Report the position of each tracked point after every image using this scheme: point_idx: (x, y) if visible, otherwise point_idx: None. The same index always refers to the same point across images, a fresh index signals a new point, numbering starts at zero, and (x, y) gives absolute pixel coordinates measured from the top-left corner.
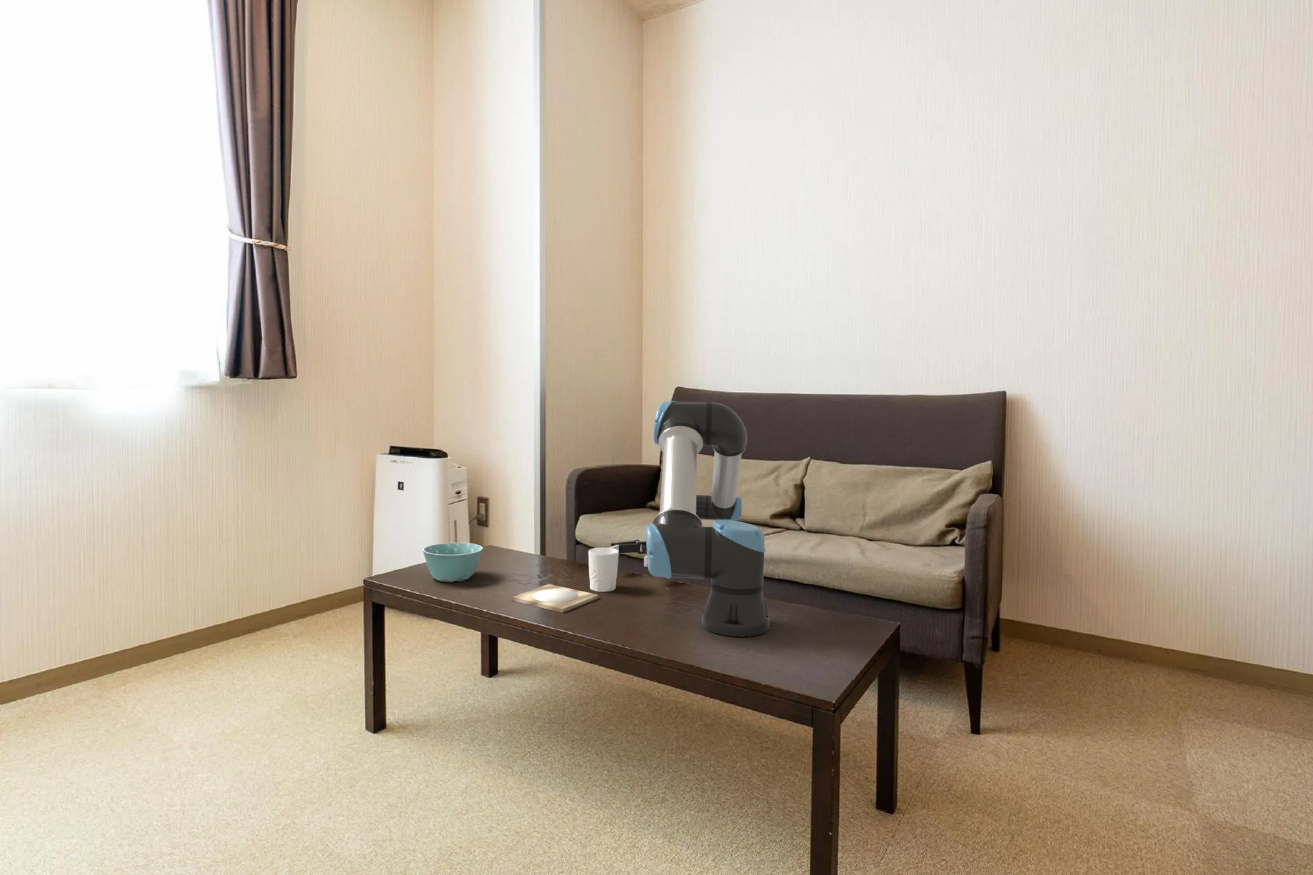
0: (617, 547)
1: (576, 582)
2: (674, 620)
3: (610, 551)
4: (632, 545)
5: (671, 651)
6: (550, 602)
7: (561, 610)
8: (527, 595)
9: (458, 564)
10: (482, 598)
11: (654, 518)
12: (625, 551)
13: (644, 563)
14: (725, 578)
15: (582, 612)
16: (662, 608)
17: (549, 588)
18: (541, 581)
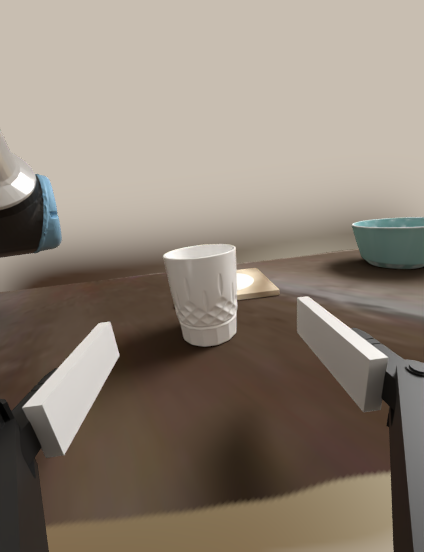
0: (356, 359)
1: (282, 322)
2: (40, 317)
3: (204, 265)
4: (407, 499)
5: (51, 289)
6: None
7: None
8: (249, 272)
9: (355, 237)
10: (281, 264)
11: (28, 164)
12: (393, 464)
13: (115, 346)
14: None
15: (167, 287)
16: (58, 330)
17: (257, 285)
18: (324, 298)
